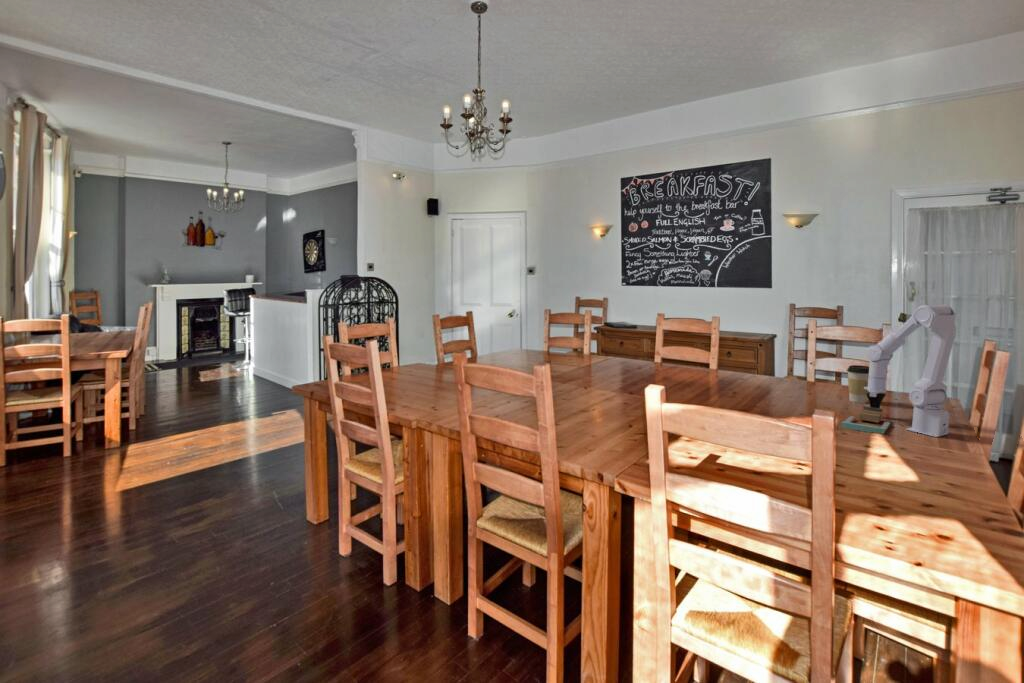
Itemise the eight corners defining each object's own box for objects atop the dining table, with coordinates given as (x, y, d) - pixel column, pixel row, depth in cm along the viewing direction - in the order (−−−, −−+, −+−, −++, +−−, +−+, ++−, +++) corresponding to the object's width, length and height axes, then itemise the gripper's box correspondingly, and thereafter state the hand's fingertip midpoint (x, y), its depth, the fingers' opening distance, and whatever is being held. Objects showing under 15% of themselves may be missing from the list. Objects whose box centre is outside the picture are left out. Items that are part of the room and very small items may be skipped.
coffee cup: (877, 404, 221) (880, 369, 220) (853, 404, 222) (856, 369, 220) (862, 398, 231) (865, 364, 229) (839, 398, 231) (842, 365, 229)
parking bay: (849, 419, 200) (850, 414, 200) (889, 425, 191) (890, 420, 191) (841, 427, 189) (841, 422, 189) (883, 434, 181) (883, 429, 181)
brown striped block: (862, 417, 202) (863, 406, 201) (881, 420, 198) (882, 408, 197) (859, 421, 197) (860, 409, 196) (878, 424, 193) (879, 412, 192)
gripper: (868, 373, 209) (865, 406, 211) (861, 378, 198) (858, 413, 200) (890, 375, 204) (887, 409, 206) (884, 381, 194) (880, 417, 195)
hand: (874, 411), depth 203 cm, fingers closed
